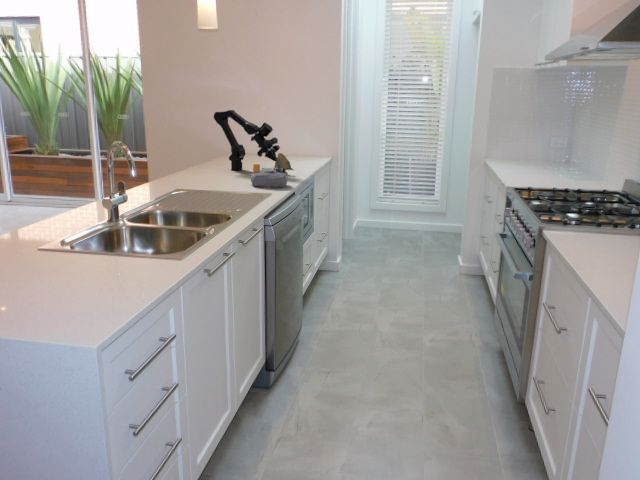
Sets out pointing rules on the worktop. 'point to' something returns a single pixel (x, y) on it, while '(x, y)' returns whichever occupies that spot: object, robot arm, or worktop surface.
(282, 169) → the block
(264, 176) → the small grey backpack
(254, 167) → the orange cube
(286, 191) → the worktop surface
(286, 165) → the rock
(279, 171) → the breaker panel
